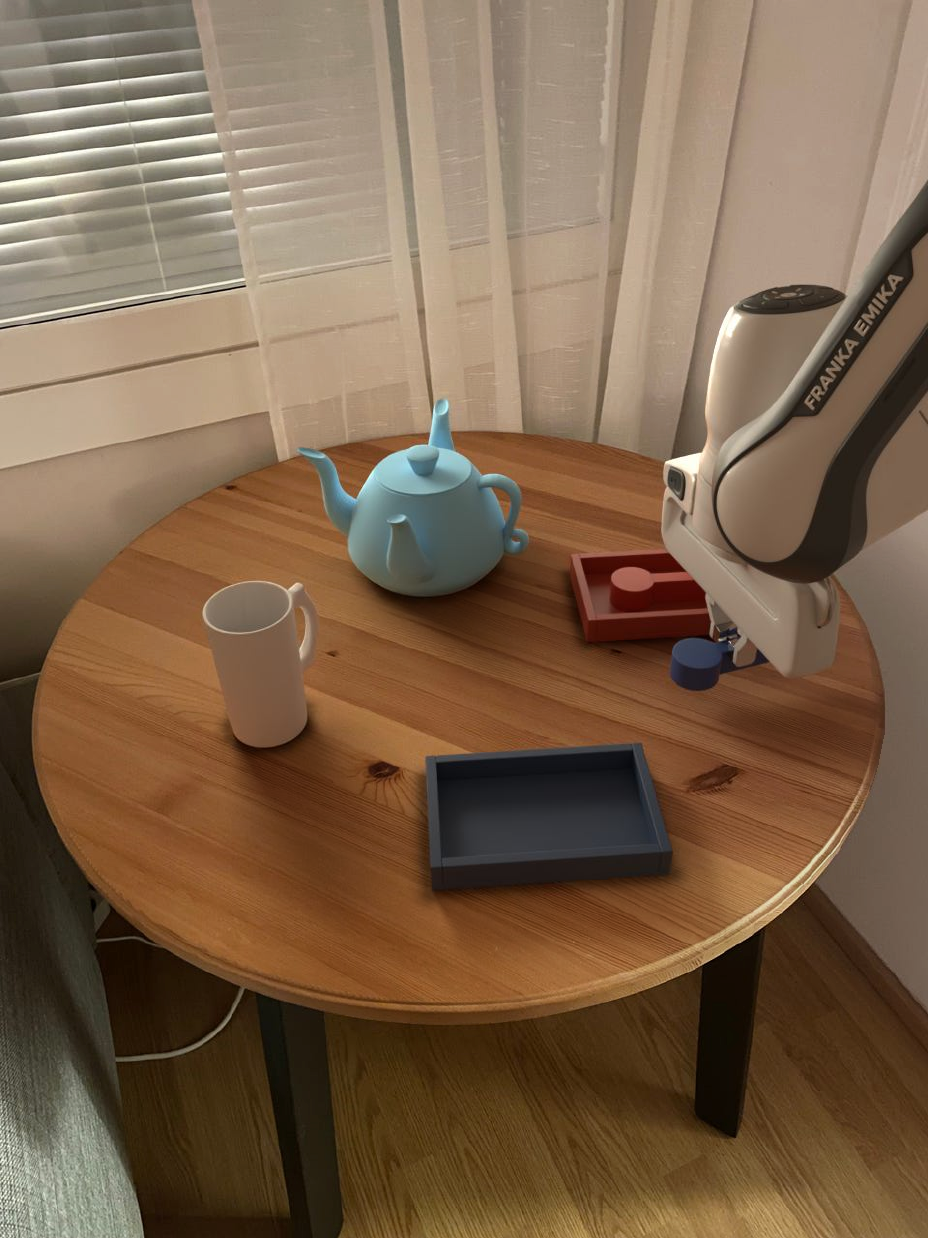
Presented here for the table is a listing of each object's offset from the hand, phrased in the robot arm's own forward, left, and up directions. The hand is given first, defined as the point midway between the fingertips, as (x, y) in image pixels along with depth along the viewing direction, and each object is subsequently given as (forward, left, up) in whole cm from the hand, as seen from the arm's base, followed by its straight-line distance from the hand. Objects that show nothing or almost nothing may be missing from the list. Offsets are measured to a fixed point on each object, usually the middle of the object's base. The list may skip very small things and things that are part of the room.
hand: (731, 650), depth 83 cm
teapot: (+25, -22, -4) cm, 34 cm away
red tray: (+2, -12, -4) cm, 13 cm away
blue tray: (+17, +14, -4) cm, 22 cm away
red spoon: (+1, -12, -4) cm, 13 cm away
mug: (+37, 0, -4) cm, 38 cm away
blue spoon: (-1, 0, -2) cm, 2 cm away
